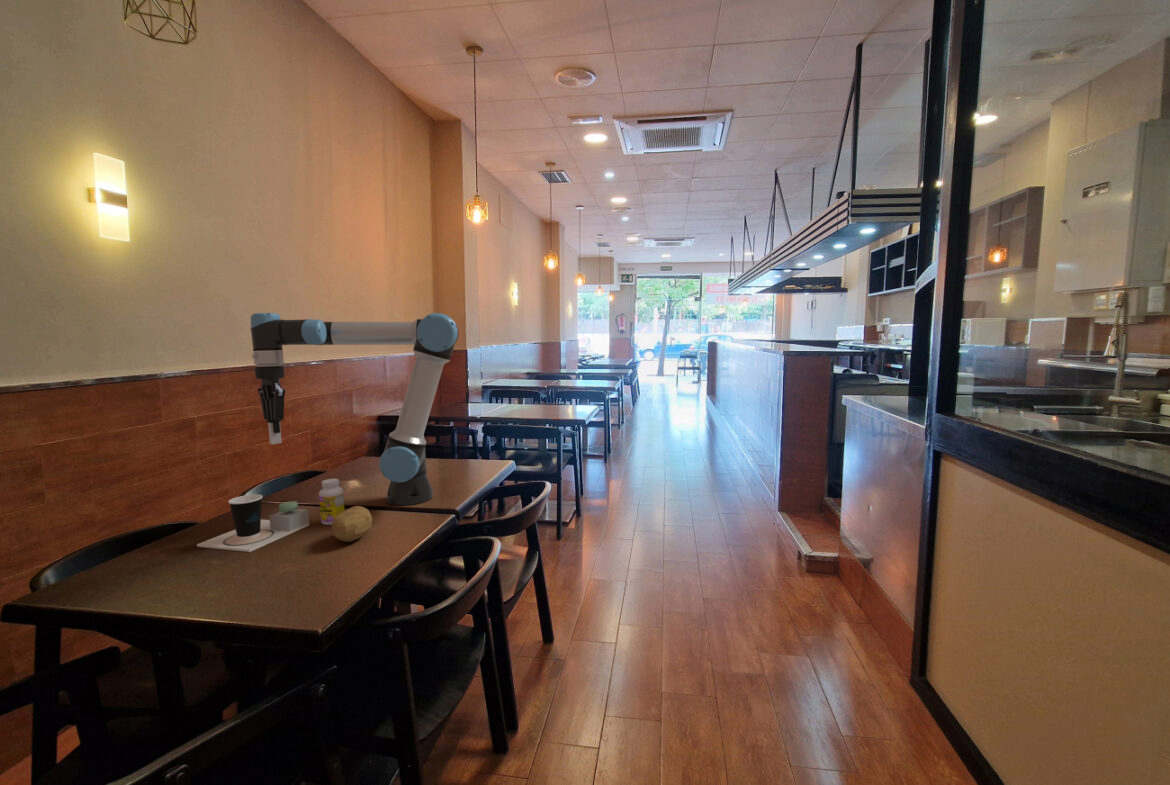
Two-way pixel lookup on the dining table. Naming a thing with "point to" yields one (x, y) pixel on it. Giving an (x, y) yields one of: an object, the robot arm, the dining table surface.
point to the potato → (351, 524)
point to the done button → (288, 507)
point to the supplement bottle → (330, 501)
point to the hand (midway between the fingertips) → (275, 443)
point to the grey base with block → (262, 532)
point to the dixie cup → (246, 515)
